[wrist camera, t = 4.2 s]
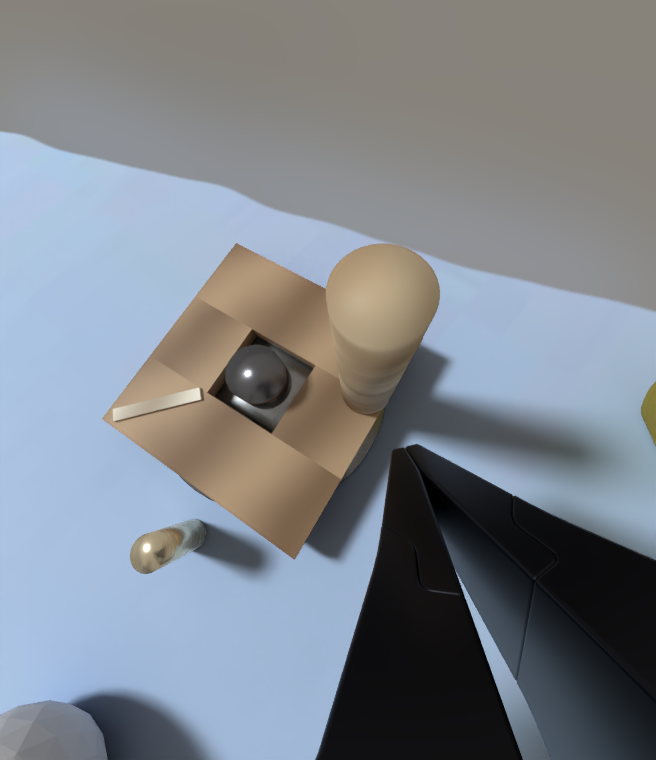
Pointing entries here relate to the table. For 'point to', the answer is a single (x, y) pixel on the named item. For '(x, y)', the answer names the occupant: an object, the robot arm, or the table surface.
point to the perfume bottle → (50, 733)
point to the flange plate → (315, 398)
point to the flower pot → (650, 411)
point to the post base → (263, 406)
